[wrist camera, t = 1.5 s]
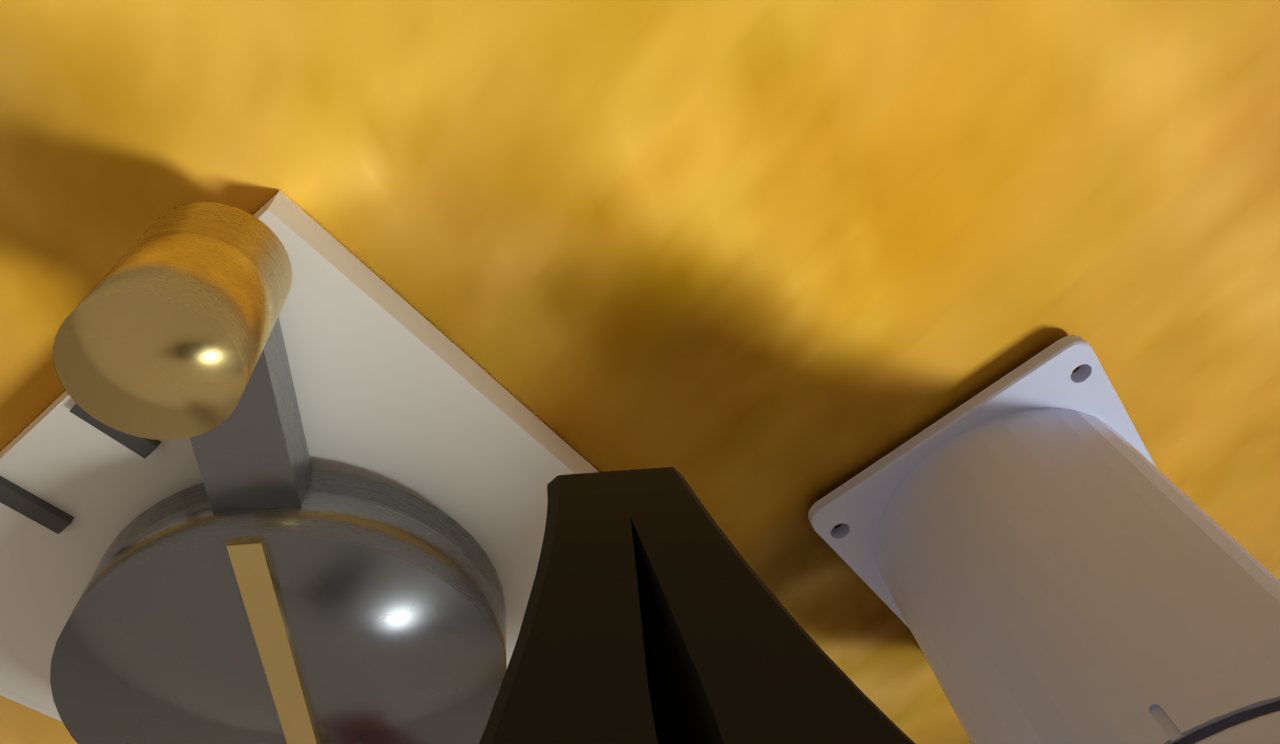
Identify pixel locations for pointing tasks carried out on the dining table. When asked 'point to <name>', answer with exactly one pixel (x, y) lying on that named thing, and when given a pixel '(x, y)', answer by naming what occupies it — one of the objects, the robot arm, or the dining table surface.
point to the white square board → (336, 440)
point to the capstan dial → (256, 533)
